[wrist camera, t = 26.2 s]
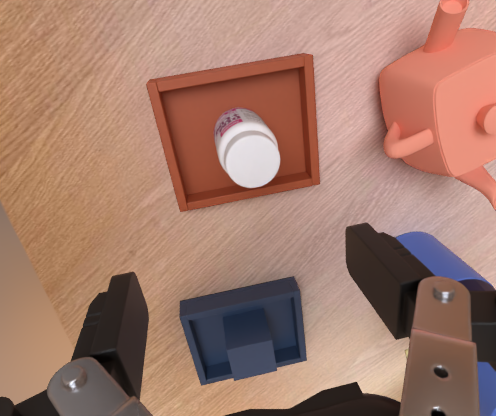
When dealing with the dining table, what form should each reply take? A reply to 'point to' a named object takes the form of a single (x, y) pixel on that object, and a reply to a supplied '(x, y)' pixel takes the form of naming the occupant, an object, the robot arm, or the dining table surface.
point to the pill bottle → (246, 148)
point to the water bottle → (451, 266)
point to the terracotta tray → (228, 97)
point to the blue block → (249, 344)
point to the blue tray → (239, 301)
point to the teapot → (445, 102)
